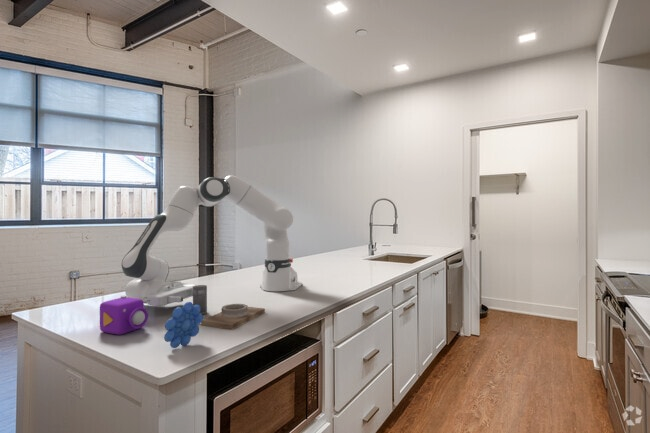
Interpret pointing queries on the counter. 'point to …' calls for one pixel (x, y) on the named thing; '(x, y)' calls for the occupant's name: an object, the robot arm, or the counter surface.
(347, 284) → the counter surface
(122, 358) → the counter surface
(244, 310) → the mount
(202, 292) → the grey rounded cylinder
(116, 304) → the toy camera
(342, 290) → the counter surface
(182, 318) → the blue lumpy cluster
